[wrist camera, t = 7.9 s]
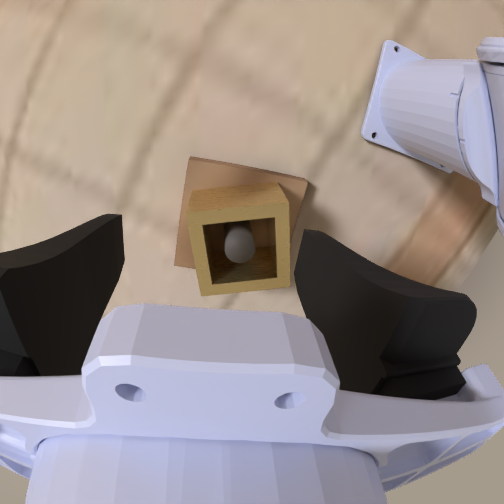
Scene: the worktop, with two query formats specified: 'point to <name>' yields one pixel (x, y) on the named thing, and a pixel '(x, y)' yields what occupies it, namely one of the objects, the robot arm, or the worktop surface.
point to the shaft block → (237, 232)
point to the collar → (238, 209)
